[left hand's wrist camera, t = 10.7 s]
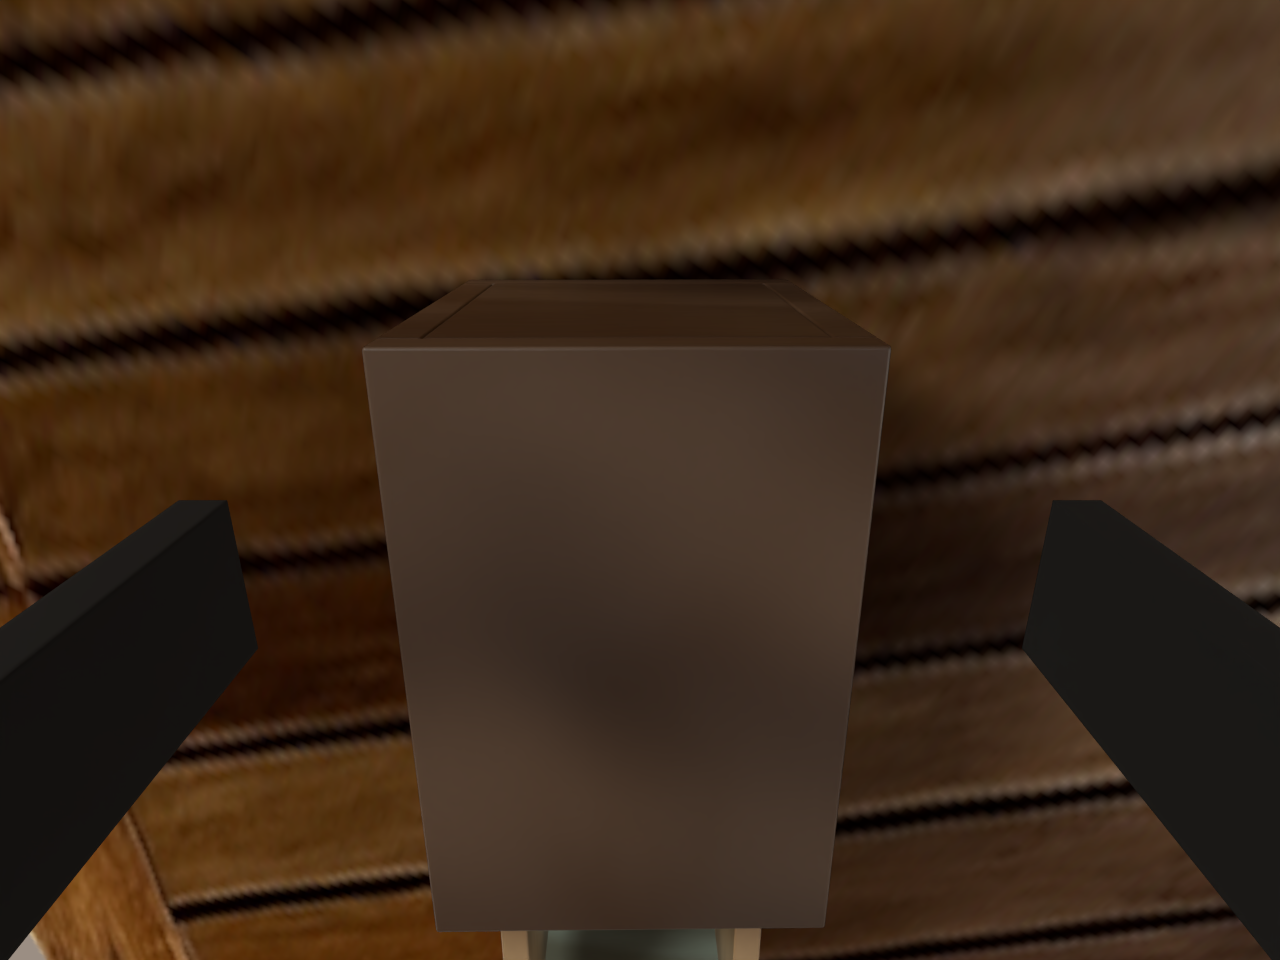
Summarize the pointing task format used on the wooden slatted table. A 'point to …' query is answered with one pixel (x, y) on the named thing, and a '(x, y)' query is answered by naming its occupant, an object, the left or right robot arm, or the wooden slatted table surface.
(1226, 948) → the wooden slatted table surface
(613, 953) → the drawer
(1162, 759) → the left robot arm
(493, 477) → the cabinet
